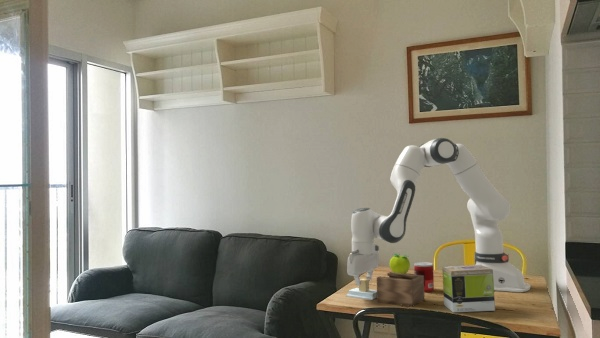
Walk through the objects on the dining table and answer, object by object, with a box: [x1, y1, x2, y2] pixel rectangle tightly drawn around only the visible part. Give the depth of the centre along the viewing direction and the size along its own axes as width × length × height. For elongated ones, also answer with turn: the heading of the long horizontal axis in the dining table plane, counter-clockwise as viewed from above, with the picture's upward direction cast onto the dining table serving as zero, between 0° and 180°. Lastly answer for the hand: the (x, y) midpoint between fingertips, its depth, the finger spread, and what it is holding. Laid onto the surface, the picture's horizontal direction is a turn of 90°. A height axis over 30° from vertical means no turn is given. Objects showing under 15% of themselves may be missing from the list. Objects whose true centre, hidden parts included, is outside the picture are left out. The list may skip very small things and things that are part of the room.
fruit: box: [389, 253, 411, 274], centre depth 236 cm, size 9×9×10 cm
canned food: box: [413, 261, 435, 293], centre depth 203 cm, size 8×8×11 cm
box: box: [376, 271, 425, 307], centre depth 187 cm, size 14×12×9 cm
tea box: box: [442, 264, 496, 313], centre depth 174 cm, size 15×10×15 cm
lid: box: [345, 278, 377, 301], centre depth 196 cm, size 12×9×7 cm
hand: (363, 283), depth 196 cm, fingers open, 7 cm apart
